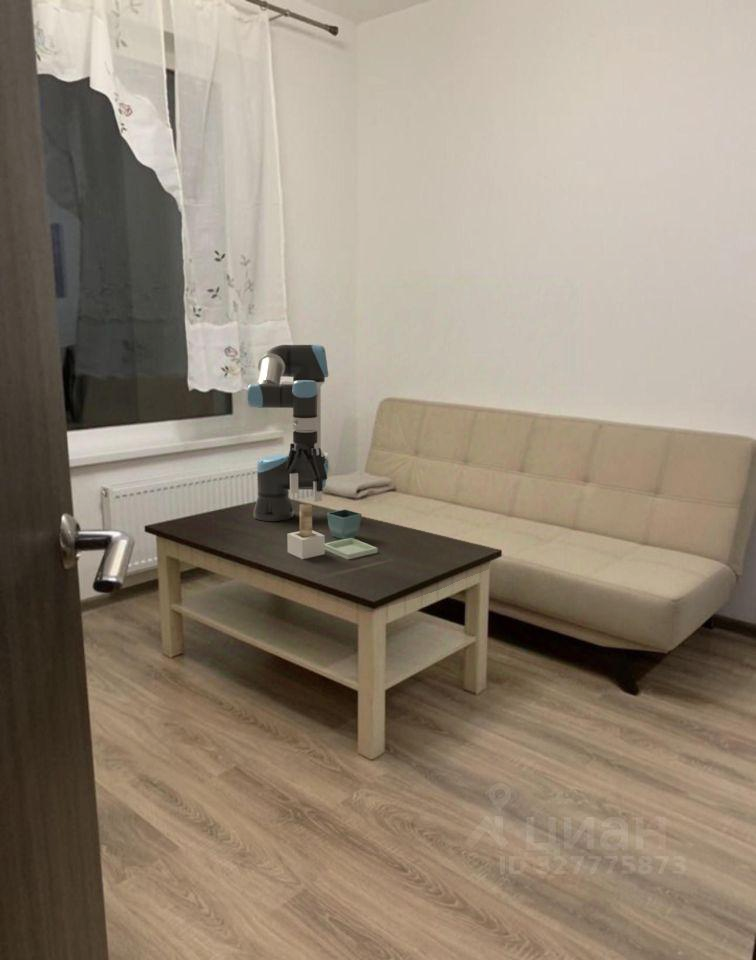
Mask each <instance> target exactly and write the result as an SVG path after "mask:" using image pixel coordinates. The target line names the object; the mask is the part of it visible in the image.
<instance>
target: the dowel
mask: <svg viewBox="0 0 756 960" xmlns="http://www.w3.org/2000/svg"><path fill="white" fill-rule="evenodd" d="M312 530H313V504H312V503H309V502H306V503H300V504H299V531H300V537H302V538H306V537H311V536H312Z"/></svg>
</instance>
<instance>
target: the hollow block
mask: <svg viewBox="0 0 756 960" xmlns="http://www.w3.org/2000/svg"><path fill="white" fill-rule="evenodd" d="M286 535H287V536H286V537H287V539H286V541H287V542H286V543H287V553H288V554H291V555H293V556H295V557H297V558H299V559H301V560H304V559H305V560H306V559H309V558H313V557H318V556H322V555H325V554H326V550H325V543H326V540H325V537H326V535H324V534H322V533H320V532H317V531H315V530H313V529H312V536H311V537H306V538H302V537H300V530H299V531H294V532H290V533H287V534H286Z"/></svg>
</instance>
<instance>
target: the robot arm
mask: <svg viewBox="0 0 756 960" xmlns="http://www.w3.org/2000/svg"><path fill="white" fill-rule="evenodd" d="M257 368H258V371H259V373H258V376H257V380H256V383H250V384H249V385H248V386H247V393H246V395H247V405H248V406H249V407H250V408H258V409H272V408H273V409H275V408H276V409H281V408H282V409H283V408H285V409H292V419H293V421H292V429H293V430H294V431H292V432H293V433H292V442H293V443H290V444H289V445H290V446H289V447H290V448H289V453H288V454H273V455H268V456H264V457H262V458H260V459H258V461H257V470H256V473H257V499H256V502H255V505H254V508H253V518H254V519H255V520H259V521H263V522H264V521H265V522H278V521H279V522H281V521H287V520H291V519H292V518H293V517H294V508H293V505H292V502H291V499H290V496H289V495H290V494H291V495H294V494H298V493H299V490H300V491H303V490H305V491H306V490H307V491H312V493H313V502H314V503H318V502H322V501H323V489H324V488H325V487H326V484H327V480H328V471H329V459H328V458H326V455H325V453H324V452H323V451H322V448H321V447H322V445H321V444H322V439H321V438H322V437H321V435H322V434H321V433H322V431H321V427H322V426H321V422H322V421H321V420H322V418H321V416H322V415H321V413H322V411H321V409H322V408H321V407H322V406H321V404H322V403H321V402H322V401H321V398H322V397H321V396H322V395H321V394H322V393H321V391H322V390H321V388H322V385H323V384H325V382H326V381H325V379H326V378H328V377H329V370H328V362H327V354H326V349H325V347H324V346H323V345H318V344H317V345H316V344H279V345H276V346H273V347H272V348H269V350H266V351H265V352H264V353H263V354H262V355H261V356H260V357H259V360H258V365H257ZM282 377H285V378H287V377H288V378H292V380H293V381H292V383H286V384H284V383H281V379H282Z"/></svg>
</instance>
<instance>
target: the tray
mask: <svg viewBox="0 0 756 960" xmlns="http://www.w3.org/2000/svg"><path fill="white" fill-rule="evenodd" d="M325 551H326V552H329V553H332V554H334V555H335V556H338V557H341V558H344V559H346V560H351V559H356V558H360V557H363V556H368V555H372V554H373V555H374V554H377V553H378V547H376V546H373V545H371V544H369V543H366V542H363V541H361V540H359V539H356V538H355V537H354V538H348V539H339V540H333V541H330V542H325Z"/></svg>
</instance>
